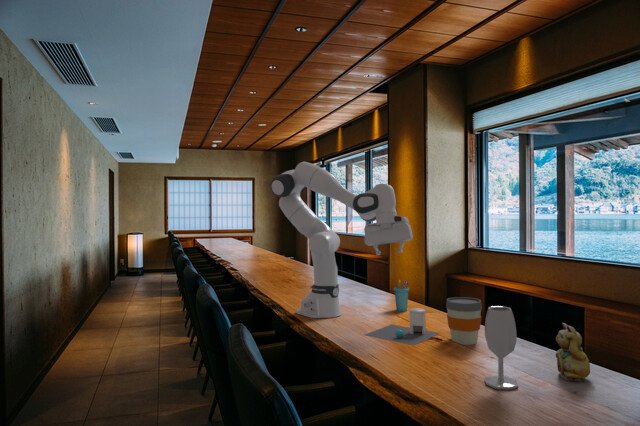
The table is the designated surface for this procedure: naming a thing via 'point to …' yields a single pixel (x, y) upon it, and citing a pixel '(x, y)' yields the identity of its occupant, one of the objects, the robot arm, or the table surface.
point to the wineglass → (500, 343)
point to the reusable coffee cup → (464, 319)
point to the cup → (401, 297)
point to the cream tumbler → (417, 320)
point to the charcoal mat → (407, 338)
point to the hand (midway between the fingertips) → (389, 253)
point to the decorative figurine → (571, 355)
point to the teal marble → (399, 333)
